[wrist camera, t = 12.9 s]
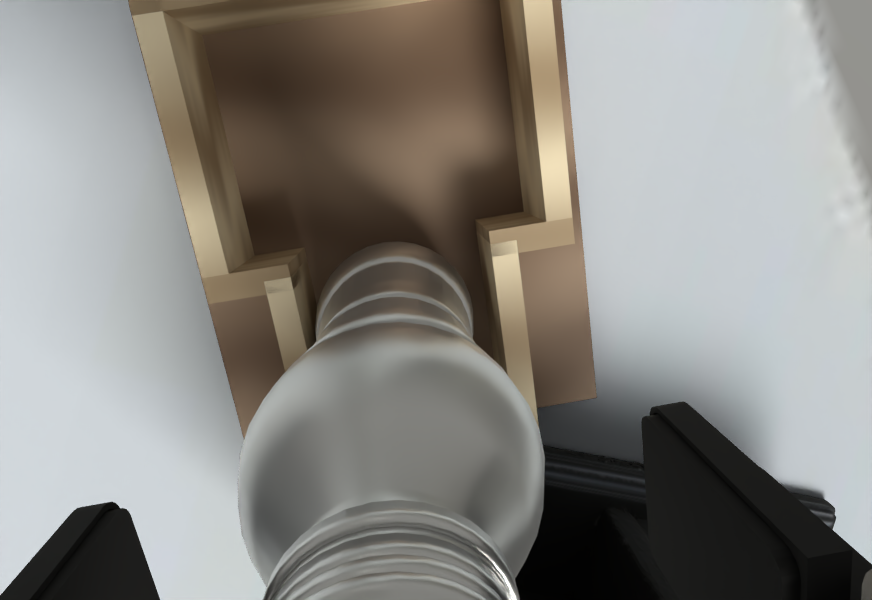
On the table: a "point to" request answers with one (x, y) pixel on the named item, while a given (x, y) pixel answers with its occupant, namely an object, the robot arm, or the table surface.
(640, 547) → the black drawer cabinet
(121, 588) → the robot arm
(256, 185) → the keyhole plate
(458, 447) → the plastic bottle
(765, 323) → the table surface
